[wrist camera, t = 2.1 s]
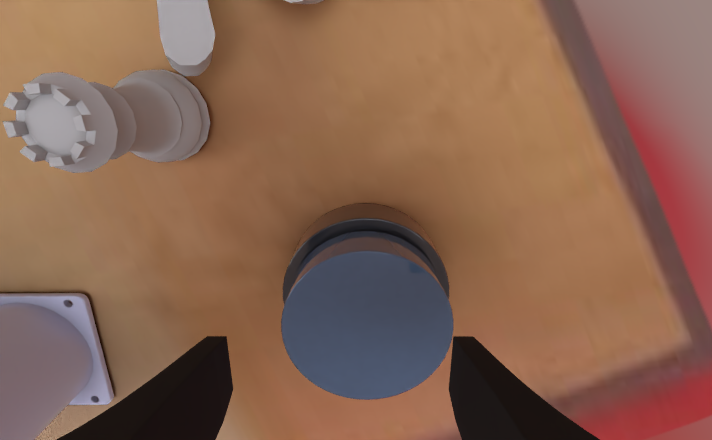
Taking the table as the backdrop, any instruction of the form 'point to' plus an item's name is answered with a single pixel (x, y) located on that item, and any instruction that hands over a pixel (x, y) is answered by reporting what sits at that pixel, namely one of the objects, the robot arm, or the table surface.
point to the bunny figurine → (190, 33)
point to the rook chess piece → (108, 119)
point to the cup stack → (366, 303)
